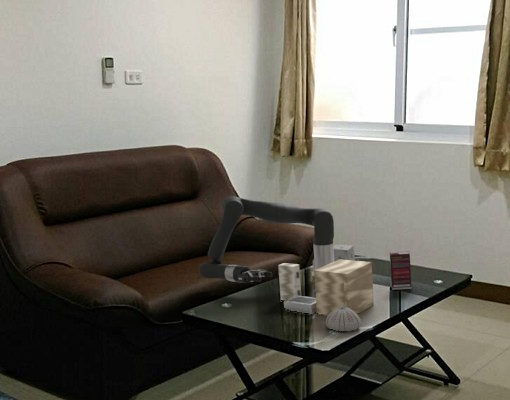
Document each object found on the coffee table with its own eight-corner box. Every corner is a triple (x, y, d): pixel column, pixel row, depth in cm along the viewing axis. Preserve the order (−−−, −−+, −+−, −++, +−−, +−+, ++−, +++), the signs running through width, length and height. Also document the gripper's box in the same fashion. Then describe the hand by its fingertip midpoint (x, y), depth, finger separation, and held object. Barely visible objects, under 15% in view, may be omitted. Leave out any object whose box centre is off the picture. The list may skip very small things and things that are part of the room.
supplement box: (410, 286, 350) (409, 251, 348) (411, 289, 346) (410, 253, 343) (390, 287, 351) (389, 252, 349) (391, 290, 347) (390, 254, 344)
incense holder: (330, 267, 394) (329, 247, 392) (338, 263, 401) (337, 243, 399) (348, 269, 388) (347, 248, 387) (356, 265, 395) (355, 244, 394)
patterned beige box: (312, 313, 321) (309, 269, 318) (337, 300, 337) (335, 258, 334) (349, 318, 311) (346, 273, 308) (373, 304, 327) (371, 262, 324)
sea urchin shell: (334, 321, 309) (333, 301, 308) (367, 324, 302) (366, 304, 301) (320, 332, 298) (318, 311, 297) (353, 335, 291) (352, 314, 290)
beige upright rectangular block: (280, 301, 341) (278, 265, 339) (286, 298, 345) (283, 262, 342) (298, 303, 336) (295, 266, 334) (303, 301, 339) (301, 264, 337)
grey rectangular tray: (284, 310, 327) (283, 301, 327) (297, 304, 335) (296, 295, 334) (311, 314, 319) (311, 305, 319) (324, 308, 327) (323, 298, 326)
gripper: (226, 269, 350) (256, 272, 340) (246, 261, 361) (275, 265, 351) (227, 285, 351) (257, 289, 341) (247, 277, 362) (276, 281, 353)
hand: (266, 277), depth 346 cm, fingers open, 8 cm apart
